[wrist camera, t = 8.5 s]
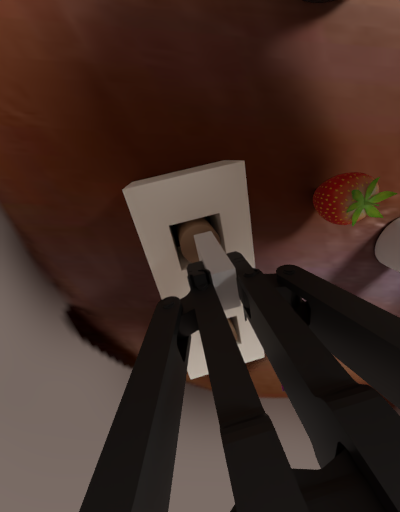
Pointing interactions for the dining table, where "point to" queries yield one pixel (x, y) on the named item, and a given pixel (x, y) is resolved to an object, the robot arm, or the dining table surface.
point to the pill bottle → (389, 246)
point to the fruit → (349, 198)
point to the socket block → (189, 208)
